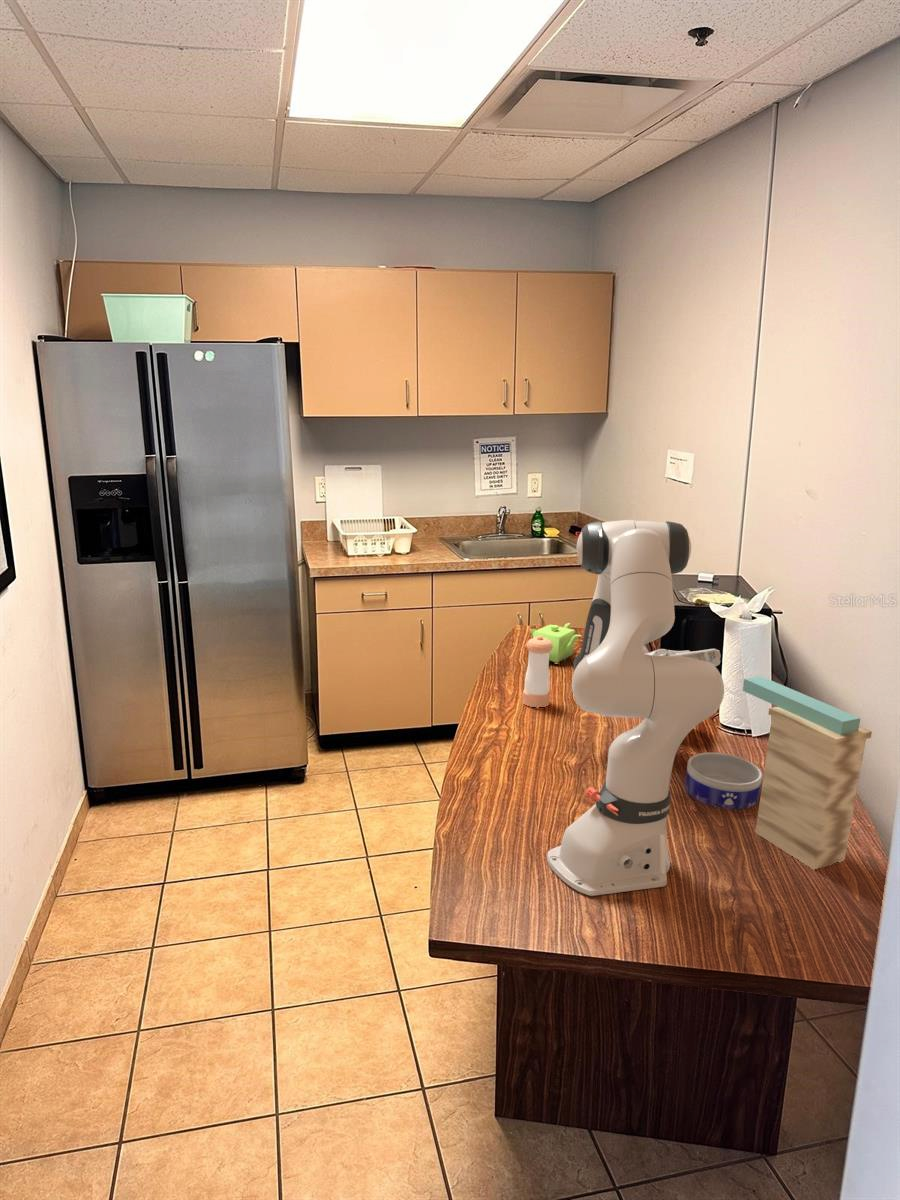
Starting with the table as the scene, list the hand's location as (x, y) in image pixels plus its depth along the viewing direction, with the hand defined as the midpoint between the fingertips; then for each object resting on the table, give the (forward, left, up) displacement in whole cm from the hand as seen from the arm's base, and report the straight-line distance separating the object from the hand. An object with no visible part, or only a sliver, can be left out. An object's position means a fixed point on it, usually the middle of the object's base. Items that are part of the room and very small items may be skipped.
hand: (701, 656), depth 176 cm
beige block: (0, -31, -28) cm, 42 cm away
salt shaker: (-9, +50, -29) cm, 58 cm away
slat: (0, -26, -2) cm, 26 cm away
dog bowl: (+2, -9, -29) cm, 30 cm away
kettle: (+16, +80, -29) cm, 86 cm away
